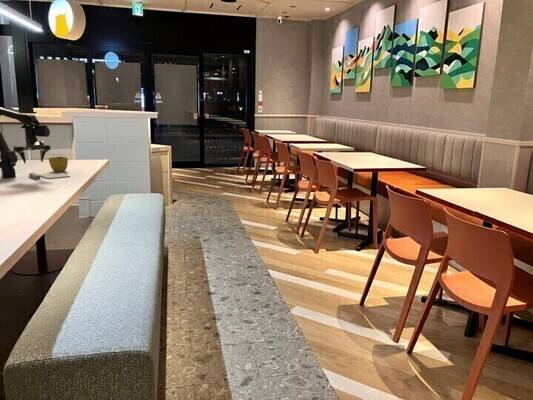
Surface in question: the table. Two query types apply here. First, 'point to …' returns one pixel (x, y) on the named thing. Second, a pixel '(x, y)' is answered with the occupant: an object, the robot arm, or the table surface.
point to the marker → (34, 176)
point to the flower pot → (58, 163)
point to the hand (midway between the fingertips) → (33, 162)
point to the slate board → (54, 175)
